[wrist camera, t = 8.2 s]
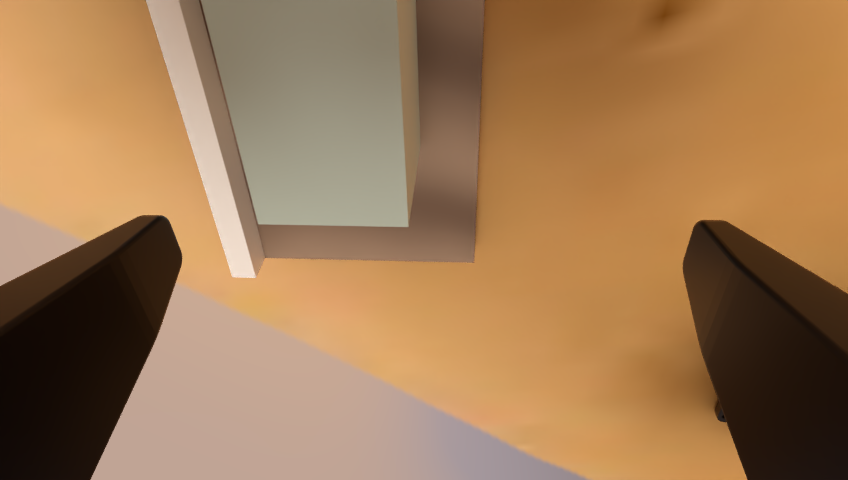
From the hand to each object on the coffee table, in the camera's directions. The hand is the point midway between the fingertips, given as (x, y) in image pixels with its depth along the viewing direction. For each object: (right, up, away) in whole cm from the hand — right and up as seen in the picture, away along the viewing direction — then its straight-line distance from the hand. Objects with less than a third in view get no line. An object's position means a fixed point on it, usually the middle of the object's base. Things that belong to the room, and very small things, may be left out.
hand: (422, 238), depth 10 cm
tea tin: (-2, +6, +9) cm, 11 cm away
